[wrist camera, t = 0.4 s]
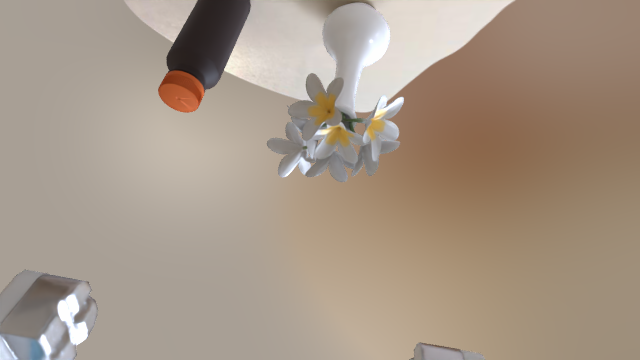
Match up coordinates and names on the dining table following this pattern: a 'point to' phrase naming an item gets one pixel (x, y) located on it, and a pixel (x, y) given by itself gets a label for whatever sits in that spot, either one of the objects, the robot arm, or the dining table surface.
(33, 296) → the robot arm
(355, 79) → the flower vase
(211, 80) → the vinegar
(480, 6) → the dining table surface
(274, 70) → the dining table surface
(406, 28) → the dining table surface
